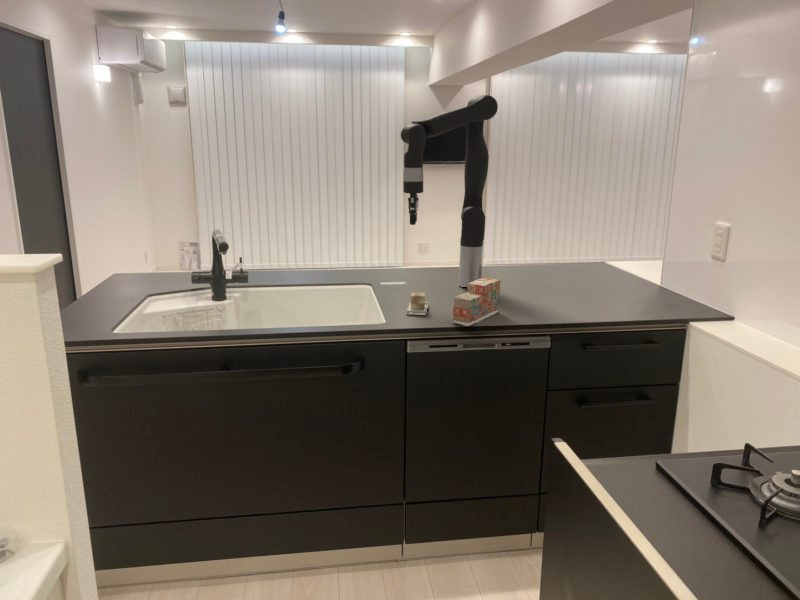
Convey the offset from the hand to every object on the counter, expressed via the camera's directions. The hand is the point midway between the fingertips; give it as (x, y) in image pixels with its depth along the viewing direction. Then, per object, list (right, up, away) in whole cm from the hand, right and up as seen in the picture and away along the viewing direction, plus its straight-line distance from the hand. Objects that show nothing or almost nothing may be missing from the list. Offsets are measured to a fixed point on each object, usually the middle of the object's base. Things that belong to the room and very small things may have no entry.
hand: (413, 223), depth 226 cm
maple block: (+1, -32, -16) cm, 36 cm away
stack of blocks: (+21, -36, -23) cm, 47 cm away
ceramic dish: (+1, -33, -15) cm, 37 cm away
